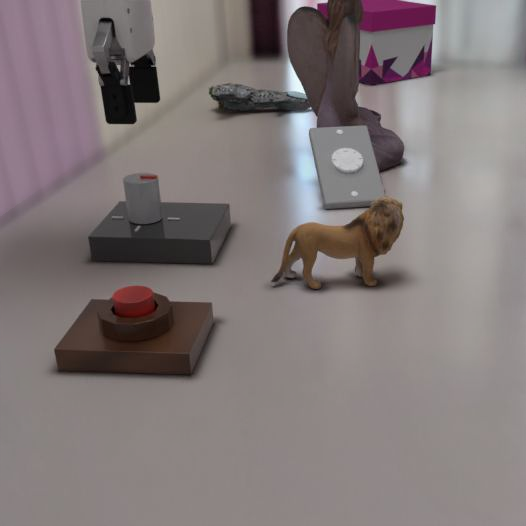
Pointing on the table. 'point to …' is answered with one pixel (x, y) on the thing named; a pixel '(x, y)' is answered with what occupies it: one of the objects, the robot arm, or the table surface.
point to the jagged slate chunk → (256, 98)
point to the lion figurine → (345, 241)
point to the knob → (142, 198)
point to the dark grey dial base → (163, 235)
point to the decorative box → (394, 40)
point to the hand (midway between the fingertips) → (134, 112)
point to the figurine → (337, 72)
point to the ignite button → (133, 302)
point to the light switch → (345, 166)
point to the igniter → (136, 338)
